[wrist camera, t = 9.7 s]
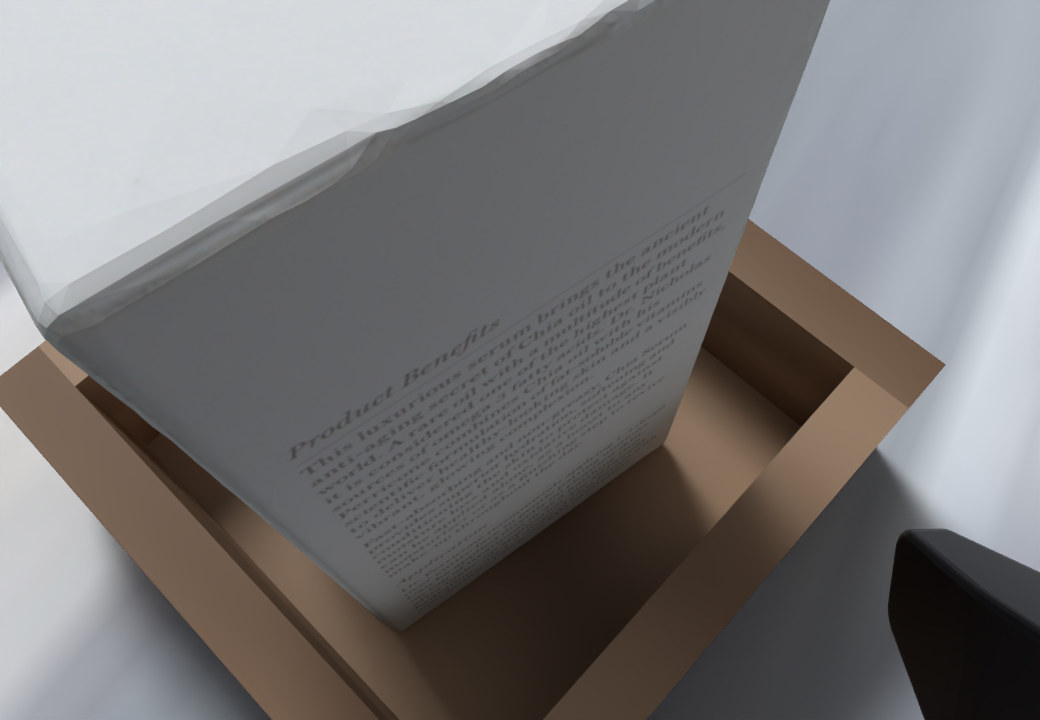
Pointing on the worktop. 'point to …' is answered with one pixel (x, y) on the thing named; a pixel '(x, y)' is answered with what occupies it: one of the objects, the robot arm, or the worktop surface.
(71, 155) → the skincare box
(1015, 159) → the worktop surface
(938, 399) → the worktop surface
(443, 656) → the walnut holder
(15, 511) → the worktop surface
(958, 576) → the robot arm
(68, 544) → the worktop surface
